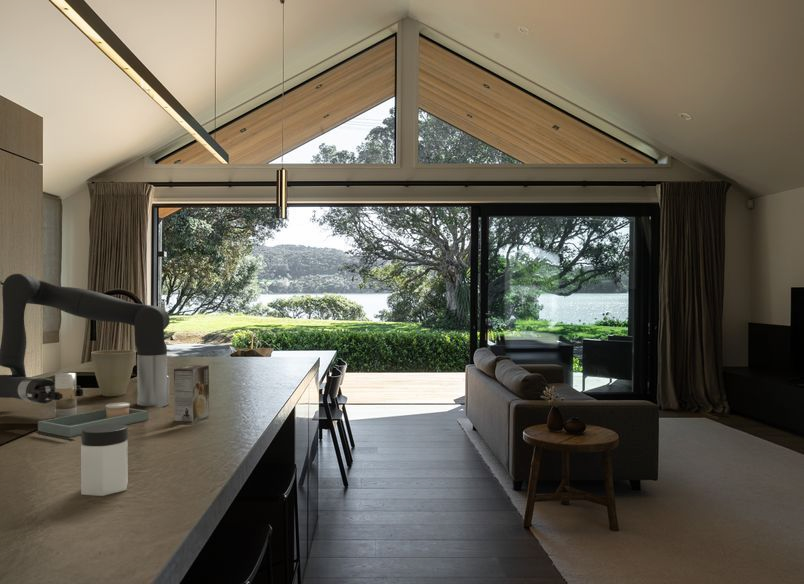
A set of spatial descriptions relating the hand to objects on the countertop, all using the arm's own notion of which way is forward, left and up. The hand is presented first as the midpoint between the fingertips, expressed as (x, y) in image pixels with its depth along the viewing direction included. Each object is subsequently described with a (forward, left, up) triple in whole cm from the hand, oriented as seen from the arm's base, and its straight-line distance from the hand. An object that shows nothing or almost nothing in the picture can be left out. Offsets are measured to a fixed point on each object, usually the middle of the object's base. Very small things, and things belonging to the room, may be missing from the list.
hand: (70, 394), depth 183 cm
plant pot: (-36, -30, -8) cm, 48 cm away
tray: (+2, +15, -8) cm, 17 cm away
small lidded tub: (-5, +15, -7) cm, 17 cm away
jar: (+34, +65, -8) cm, 74 cm away
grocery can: (0, -2, -8) cm, 8 cm away
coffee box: (-18, +31, -8) cm, 36 cm away
